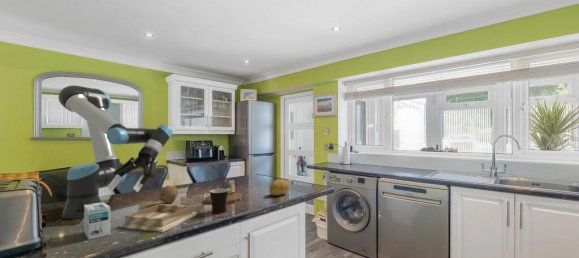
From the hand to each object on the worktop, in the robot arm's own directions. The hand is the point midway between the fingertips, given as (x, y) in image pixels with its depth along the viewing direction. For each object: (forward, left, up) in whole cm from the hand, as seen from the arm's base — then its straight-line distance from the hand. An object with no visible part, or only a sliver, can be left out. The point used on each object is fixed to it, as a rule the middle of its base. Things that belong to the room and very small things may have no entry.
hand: (122, 189), depth 107 cm
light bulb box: (0, -10, -15) cm, 18 cm away
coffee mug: (+31, +27, -15) cm, 43 cm away
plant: (+22, +45, -15) cm, 52 cm away
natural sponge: (-3, +31, -15) cm, 34 cm away
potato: (+49, +63, -15) cm, 81 cm away
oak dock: (+13, +8, -14) cm, 21 cm away
